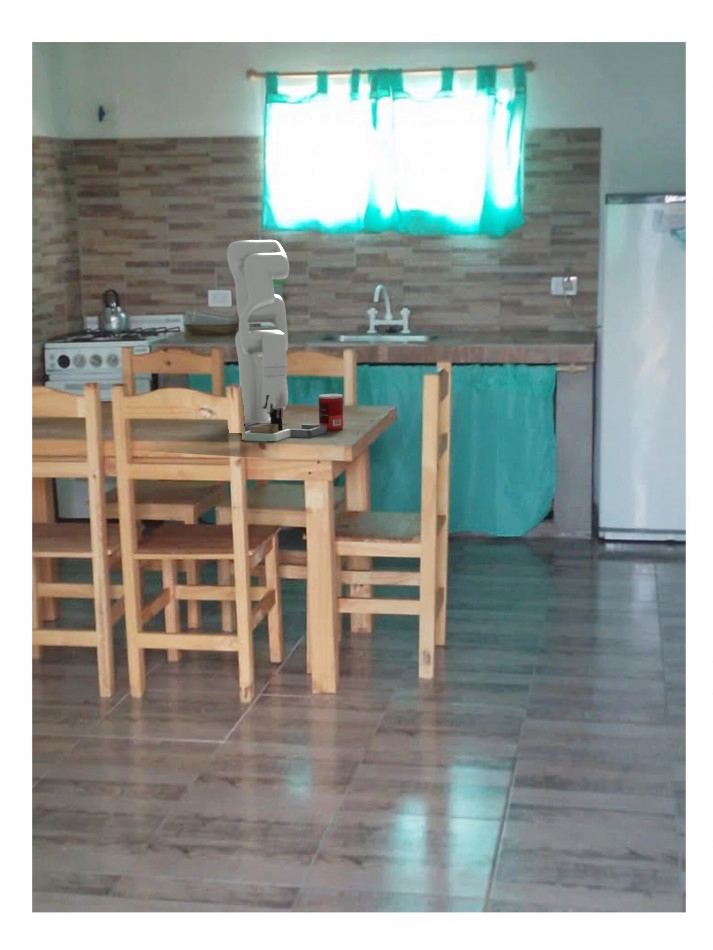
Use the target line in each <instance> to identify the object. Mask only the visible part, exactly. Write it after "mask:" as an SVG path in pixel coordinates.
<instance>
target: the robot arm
mask: <svg viewBox="0 0 713 950" xmlns="http://www.w3.org/2000/svg"><path fill="white" fill-rule="evenodd" d="M226 258H227V263H228V267H229V270H230V272H231V275H232V278H233V280H234V287H235V298H236V309H237V316H238V319H239V320H238V331H237V332H236V334H235V338H234V341H235V348H236V354H237V361H238V373H239V374H238V377H239V379H238V380H239V387H240V386H241V388H242V398H243V405H244V416H245V424H244V425H247V424H251V423H254V422H271V424H278V432H280V431H283V415H284V411H285V410H286V407H287V406H288V404H289V389H288V379H287V377H288V367H287V366H288V363H287V362H288V359H287V356H288V355H287V351H288V349H289V335H288V325H287V324H288V323H287V312H286V311H287V310H286V303H285V302H284V299H283V297H281V295H279V294H277V293H275V288H274V287H275V286H274V280H285V279H286V278H288V277H289V273H290V263H289V258H288V256H287V253H286V252H285V249H284V248H283V247H282V245H281V243H280V242H279V241H277V240H274V239H258V240H257V239H249V240H246V239H244V240H238V241H236V240H235V241H233V242H231V243H230V244H229V245H228V246H227V250H226ZM251 324H253V325H254V324H255V325H256V324H270V325H271V326H260V327H259V326H258V327H255V326H254V327H249V325H251ZM261 357H262V360H261Z"/></svg>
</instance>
